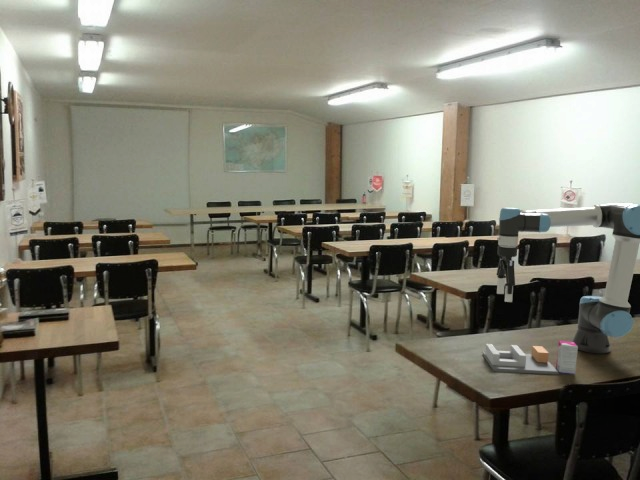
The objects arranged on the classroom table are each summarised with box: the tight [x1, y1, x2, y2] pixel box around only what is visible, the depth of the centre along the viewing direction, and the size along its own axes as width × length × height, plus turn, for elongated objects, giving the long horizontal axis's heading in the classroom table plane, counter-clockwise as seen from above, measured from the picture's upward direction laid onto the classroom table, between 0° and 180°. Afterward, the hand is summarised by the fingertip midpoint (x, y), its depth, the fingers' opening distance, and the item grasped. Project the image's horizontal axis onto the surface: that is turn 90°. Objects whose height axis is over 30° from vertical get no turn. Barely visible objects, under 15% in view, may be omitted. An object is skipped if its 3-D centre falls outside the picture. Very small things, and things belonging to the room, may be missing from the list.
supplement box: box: [555, 340, 578, 376], centre depth 208 cm, size 6×6×12 cm
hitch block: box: [482, 343, 559, 375], centre depth 216 cm, size 24×19×6 cm
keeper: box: [530, 345, 550, 363], centre depth 218 cm, size 4×8×4 cm, turn 176°
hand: (504, 297), depth 221 cm, fingers open, 13 cm apart
